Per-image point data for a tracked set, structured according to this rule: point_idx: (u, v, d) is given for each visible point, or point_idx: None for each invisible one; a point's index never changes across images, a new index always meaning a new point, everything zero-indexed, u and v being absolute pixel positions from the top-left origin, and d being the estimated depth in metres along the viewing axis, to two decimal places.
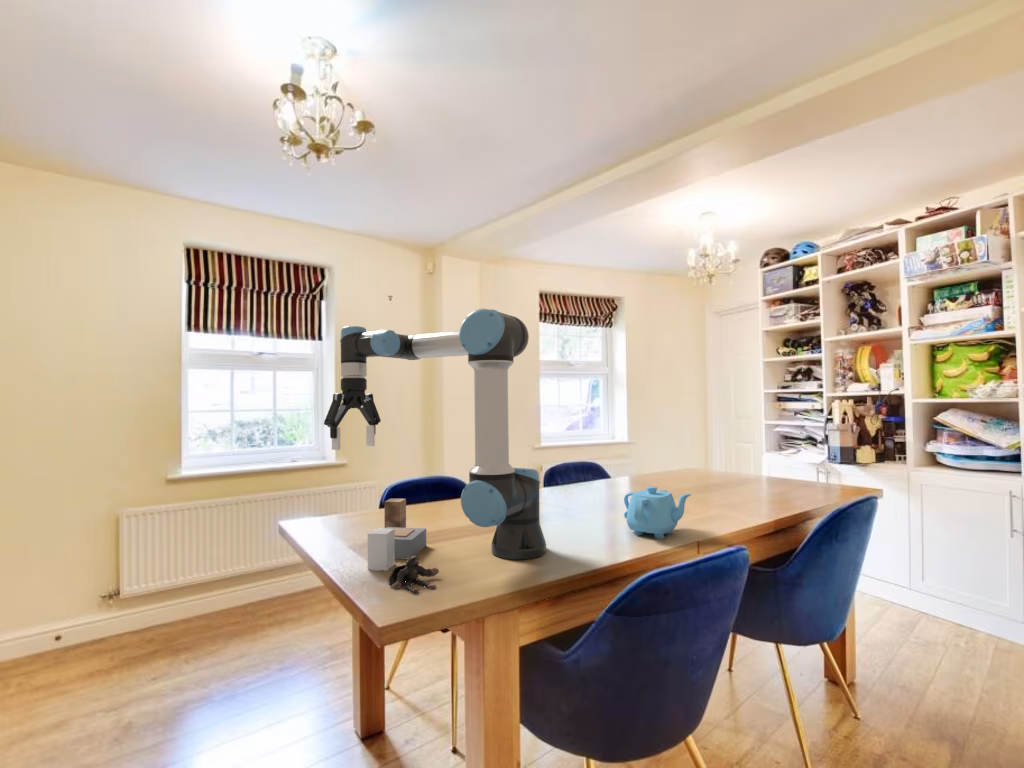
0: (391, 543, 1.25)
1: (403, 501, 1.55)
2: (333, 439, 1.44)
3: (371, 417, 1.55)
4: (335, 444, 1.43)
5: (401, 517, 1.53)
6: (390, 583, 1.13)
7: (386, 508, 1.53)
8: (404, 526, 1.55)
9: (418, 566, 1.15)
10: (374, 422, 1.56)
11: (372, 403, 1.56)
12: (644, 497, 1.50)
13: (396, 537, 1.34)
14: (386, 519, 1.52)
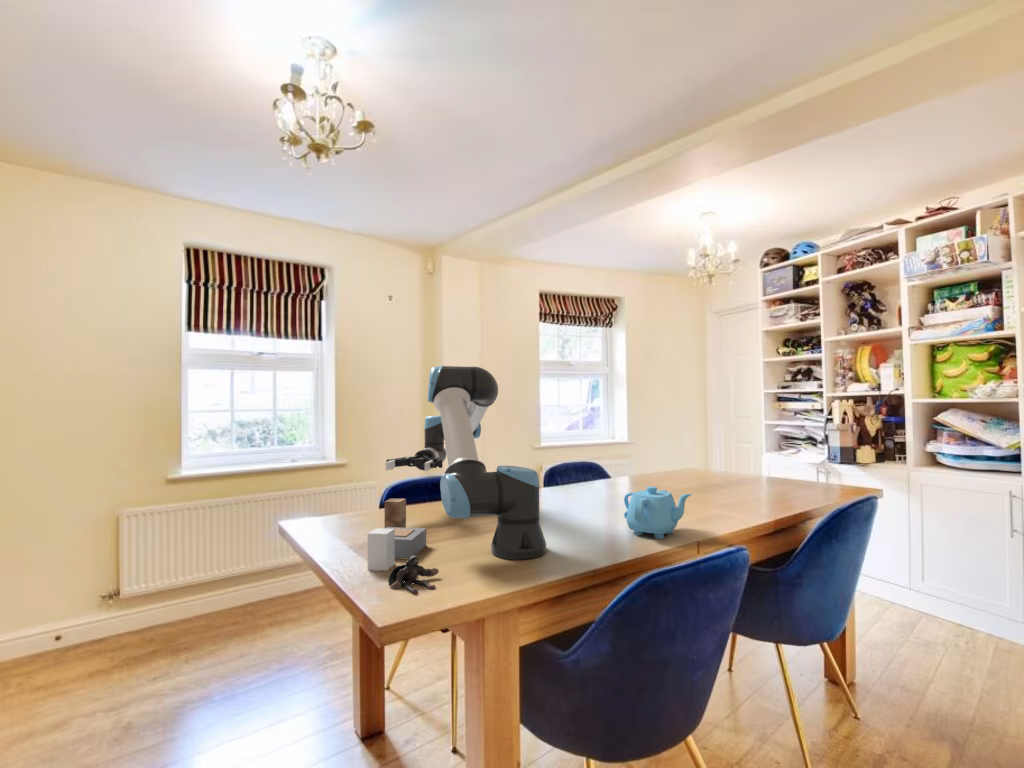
0: (391, 543, 1.25)
1: (403, 501, 1.55)
2: None
3: (432, 459, 1.72)
4: None
5: (401, 517, 1.53)
6: (390, 583, 1.13)
7: (386, 508, 1.53)
8: (404, 526, 1.55)
9: (418, 566, 1.15)
10: None
11: (437, 458, 1.77)
12: (644, 497, 1.50)
13: (396, 537, 1.34)
14: (386, 519, 1.52)
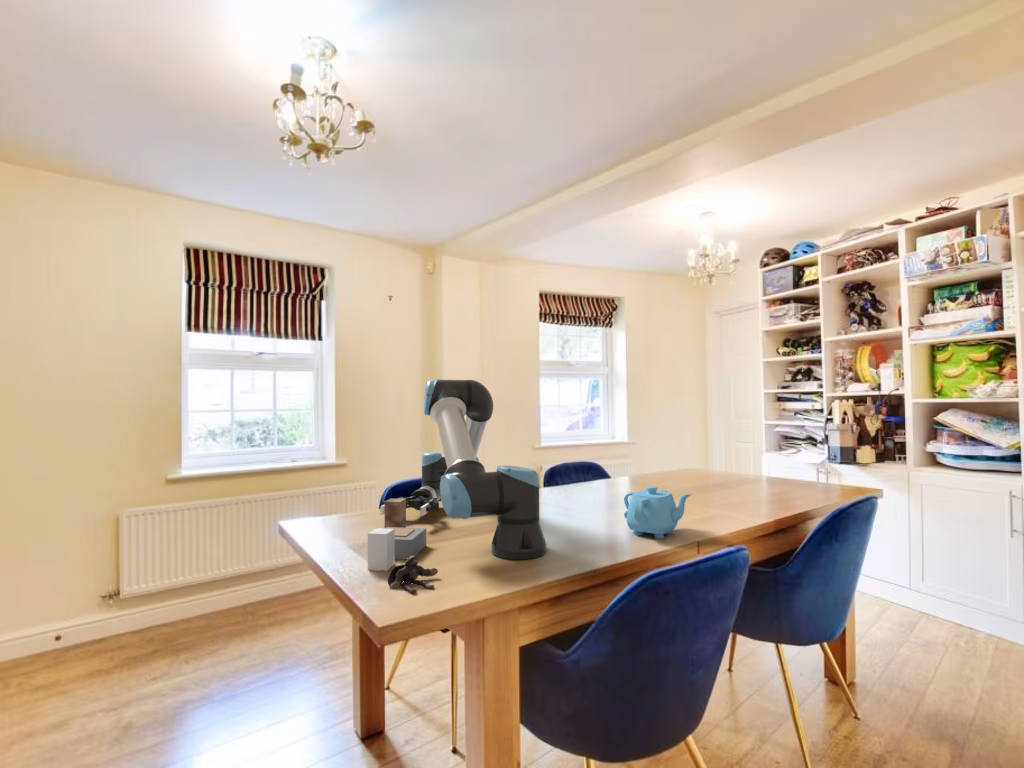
0: (391, 543, 1.25)
1: (403, 501, 1.55)
2: None
3: (428, 502, 1.68)
4: None
5: (401, 517, 1.53)
6: (389, 583, 1.13)
7: (386, 508, 1.53)
8: (404, 526, 1.55)
9: (417, 566, 1.15)
10: (430, 503, 1.67)
11: (433, 499, 1.73)
12: (644, 497, 1.50)
13: (396, 537, 1.34)
14: (386, 519, 1.52)
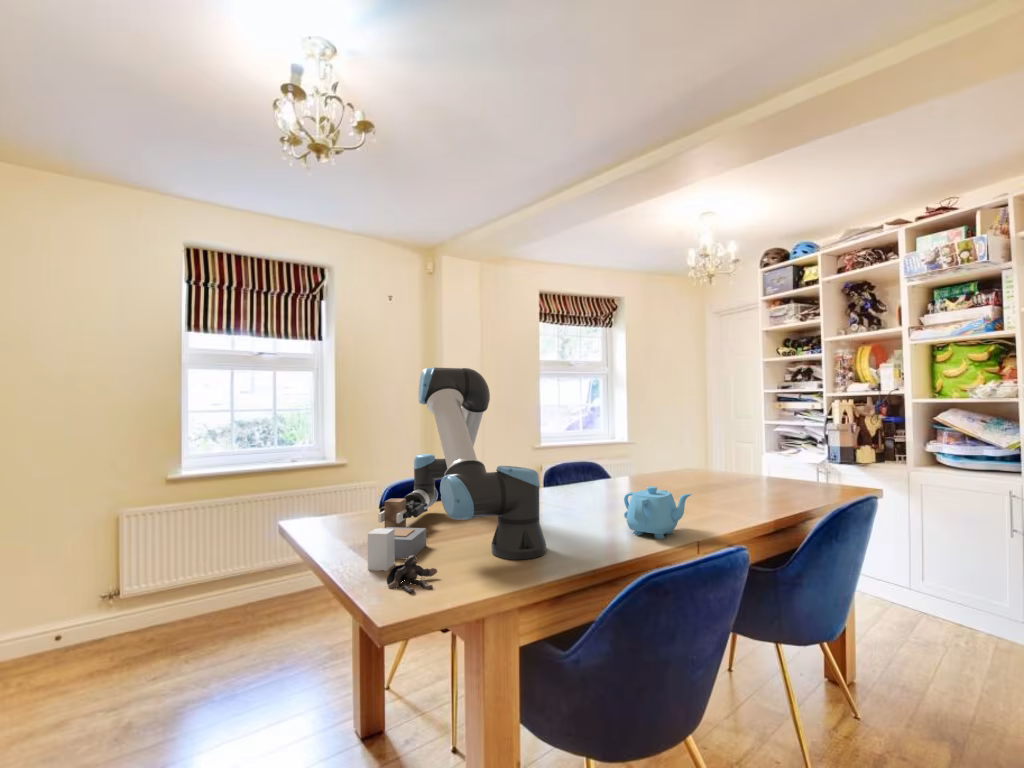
0: (391, 543, 1.25)
1: (403, 501, 1.55)
2: None
3: None
4: None
5: None
6: (388, 582, 1.13)
7: (386, 508, 1.53)
8: (404, 526, 1.55)
9: (416, 566, 1.15)
10: None
11: (421, 505, 1.63)
12: (644, 497, 1.50)
13: (396, 537, 1.34)
14: (386, 519, 1.52)
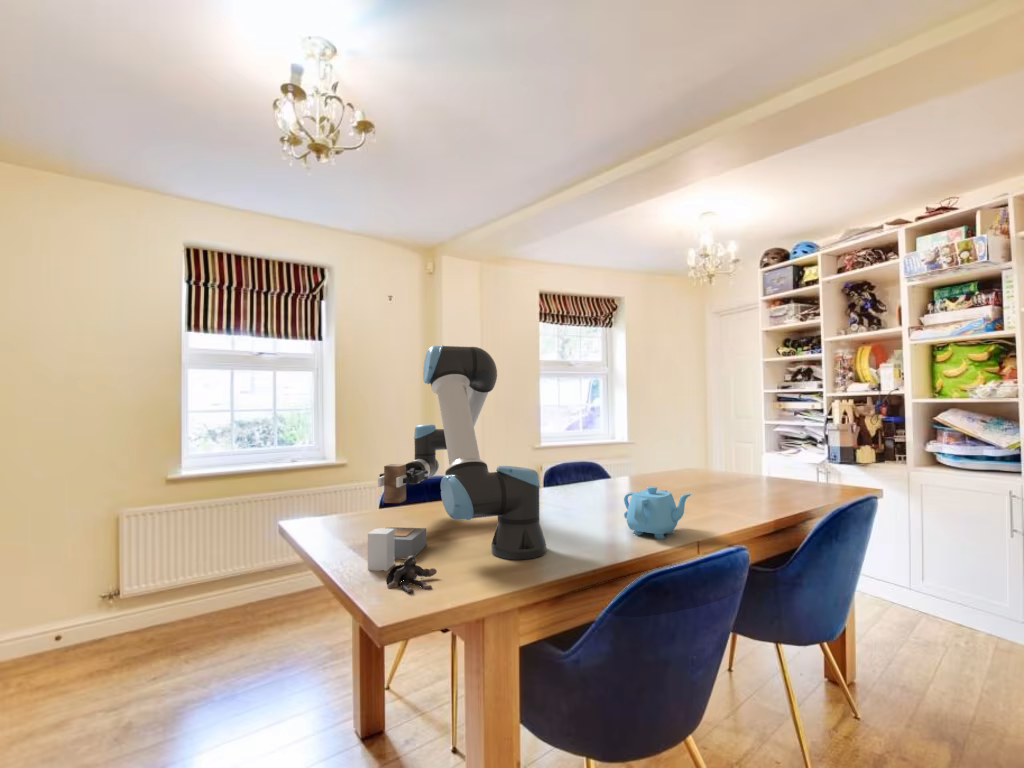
0: (391, 543, 1.25)
1: (403, 466, 1.52)
2: None
3: None
4: None
5: None
6: (387, 582, 1.13)
7: (386, 473, 1.50)
8: (404, 492, 1.53)
9: (415, 566, 1.15)
10: None
11: (421, 472, 1.60)
12: (644, 497, 1.50)
13: (396, 537, 1.34)
14: (386, 484, 1.50)
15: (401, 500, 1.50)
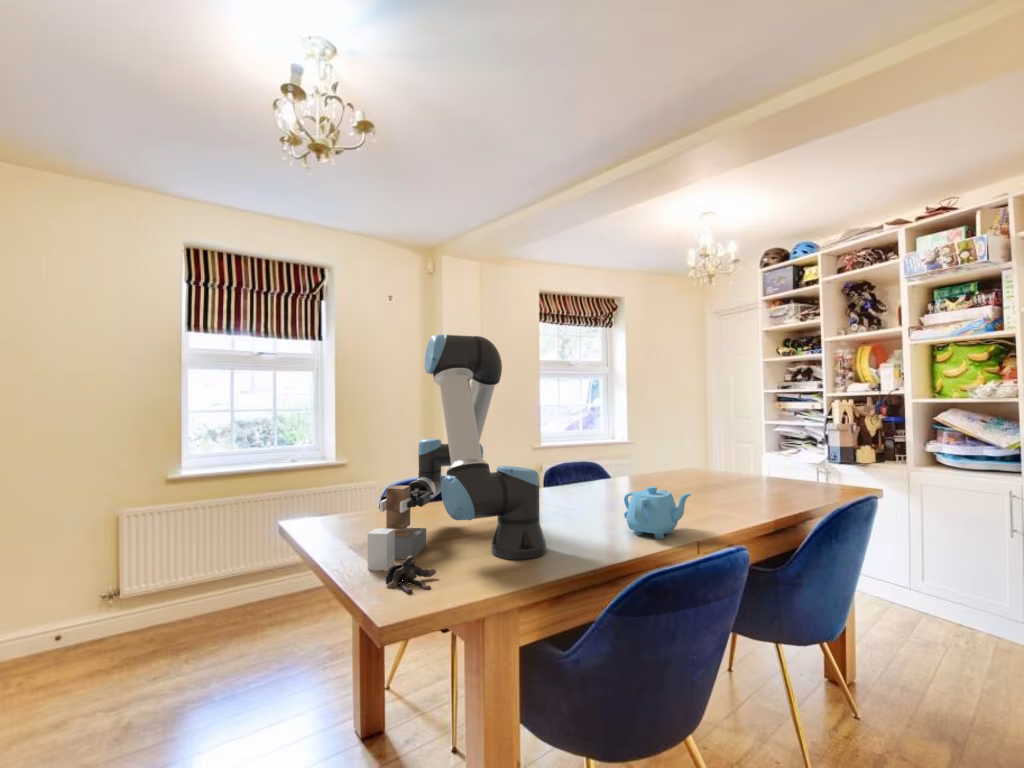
0: (391, 543, 1.25)
1: (407, 488, 1.39)
2: None
3: None
4: None
5: None
6: (387, 582, 1.13)
7: (388, 496, 1.37)
8: (408, 516, 1.39)
9: (415, 566, 1.15)
10: None
11: (426, 493, 1.46)
12: (644, 497, 1.50)
13: (396, 537, 1.34)
14: (388, 508, 1.36)
15: (405, 526, 1.37)
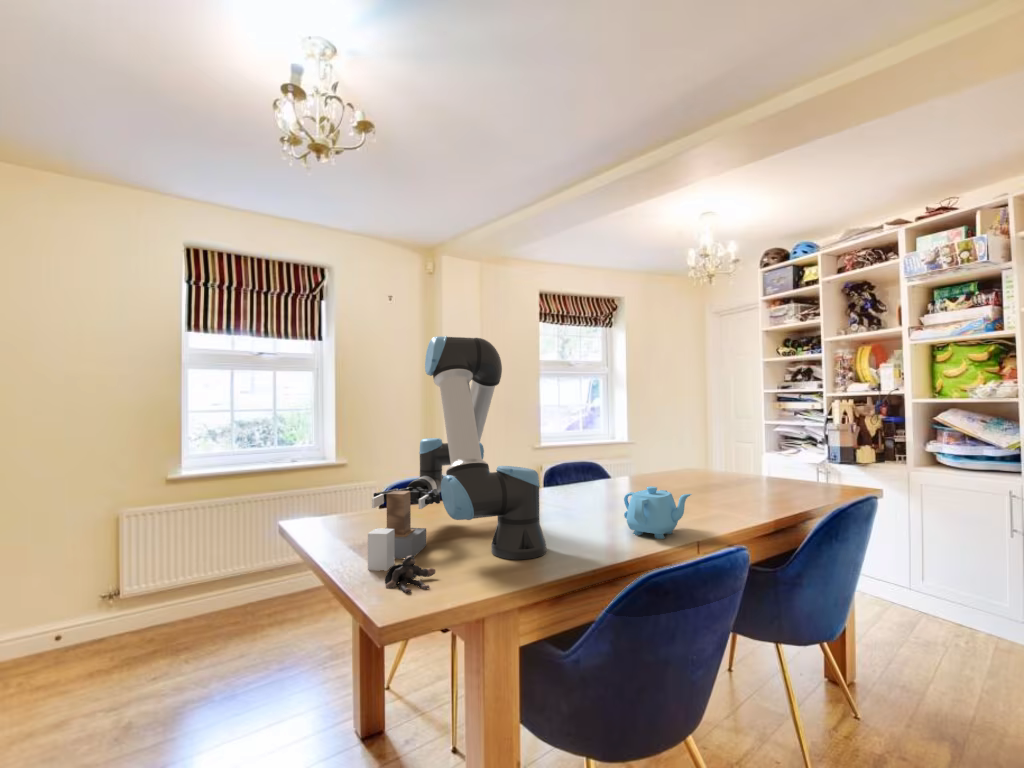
0: (391, 543, 1.25)
1: (407, 493, 1.39)
2: None
3: (427, 493, 1.45)
4: None
5: (405, 511, 1.37)
6: (386, 582, 1.13)
7: (388, 501, 1.36)
8: (408, 521, 1.39)
9: (414, 566, 1.15)
10: None
11: (433, 491, 1.50)
12: (644, 497, 1.50)
13: (396, 537, 1.34)
14: (388, 513, 1.36)
15: (405, 531, 1.37)
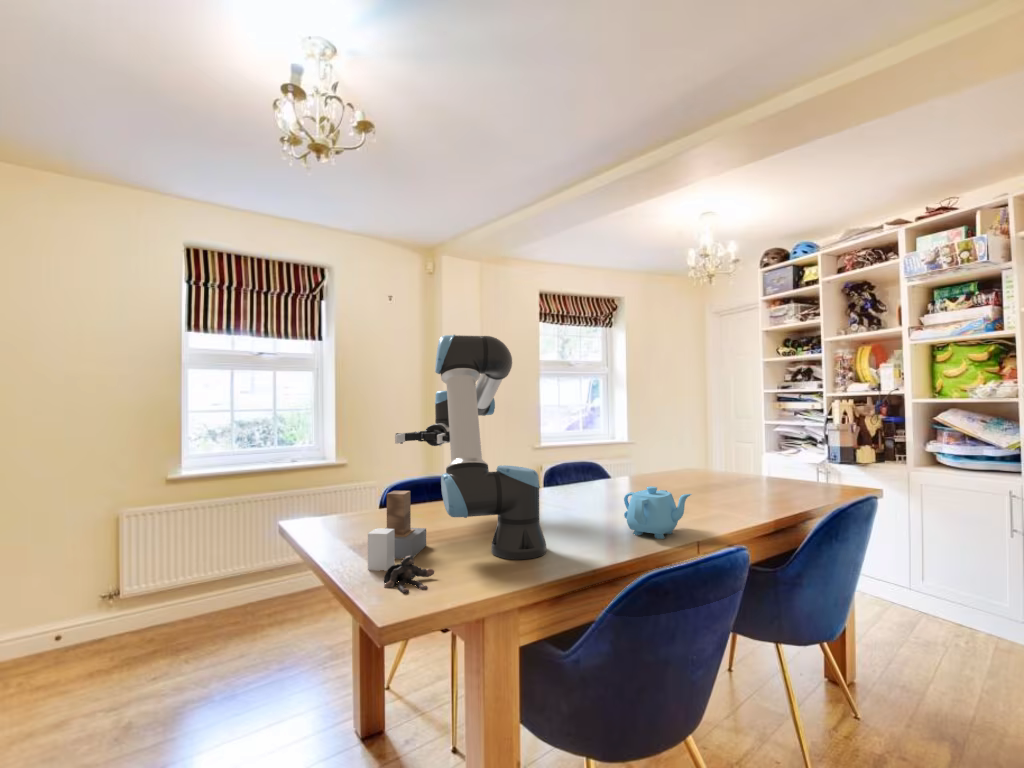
0: (391, 543, 1.25)
1: (407, 493, 1.39)
2: None
3: (444, 433, 1.62)
4: None
5: (405, 511, 1.37)
6: (385, 582, 1.14)
7: (388, 501, 1.36)
8: (408, 521, 1.39)
9: (413, 566, 1.16)
10: None
11: None
12: (644, 497, 1.50)
13: (396, 537, 1.34)
14: (388, 513, 1.36)
15: (405, 531, 1.37)
